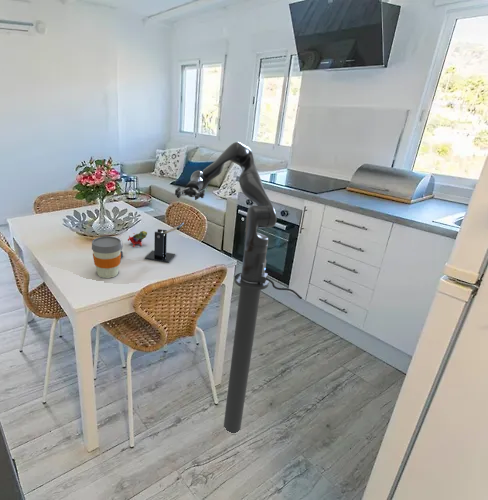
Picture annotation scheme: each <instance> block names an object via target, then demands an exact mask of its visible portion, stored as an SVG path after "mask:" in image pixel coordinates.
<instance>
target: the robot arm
mask: <svg viewBox="0 0 488 500" xmlns="http://www.w3.org/2000/svg"><path fill="white" fill-rule="evenodd" d="M229 161H230V162H231V163H234V164H236V165H237V166H239V167H240V169H241V173H240V175H239V177H238V183H239V187H240V189H241V192H242V193H243V195H244V196H245V197H246V198H248V199H249V200H250V201H252V202H253V203H255V204H256V205H250V206H249V207H248V209H247V213H246V222H245V223H246V224H245V240H244V249H243V257H242V265H241V272H240V273H241V280H242V281H244V282H246V283H249V284H259V285H260V284H261V283H265V282H266V280H268V281H269V283H270V284H271V285H272V287H273V289H274V290H279V291H289V292H291V293H293V294H295V295H296V296H297V297H298V298H299V299H300V300H302V299H303V297H302V296H301V295H300V294H299V293H297V291H295V290H294V289H291V288H288V287H278V286H276V285H275V283H274V281H273V280H272V279H270V278H269V277H268V276H269V273H267V272H266V269H267V268H266V267H267V261H268V260H267V254H268V253H267V252H268V246H269V237H268V236H267V235H265V234H263V233H260V232H258V229H270V228H271V229H272V228H274V227H275V225H276V224H277V219H278V218H277V217H278V216H277V213H276V208H275V207H274V205H273V203H272V201H271V199H270V198H269V196H268V193H267V192H266V190H265V187H264V185H263V181H262V179H261V176H260V174H259V172H258V168H257V166H256V163H255V159H254V154H253V151H252V149H251V148H250V147H249V146H246V145H245V144H243V143H242V142H239V141H235V142H233V143H231V144H230V145H229V146H227V148H226V149H225V150H224V151H222V153H221V154H220V155H219V156H218V157H217V158H216V160H214V161H213V162H212V163H211V164H209V165H208V166H206V167H205V168H204V169H202V171H201V170H195V171H193V172H192V173H191V176H190V180H189V181H188V183H187V184H186V185H185V187H184V188H182V189H181V187H179V186H178V187H177V188H176V189H175V191H174V196H176V197H177V199H180V198H181V197H189V198H194V201H197V200H199V199H200V198H201V199H204V198H205V196H206V195H205V194H206V190H205V189H206V188H207V187H208V185H209V184H210V183H211V181H212V180H214V179H216V178H217V177H218V176H220V175H221V173H223V169H224V166H225V164H226V163H227V162H229Z"/></svg>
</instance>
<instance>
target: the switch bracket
mask: <svg viewBox="0 0 488 500" xmlns="http://www.w3.org/2000/svg"><path fill="white" fill-rule="evenodd" d="M161 231H163V232H165V231H168V229H161V228H158V229H157V231H154V241H153V243H154V247H153V248H154V249H153V250H151V251H150V252H149V253H148V254H147V255H146V256H145V257H144V260H148V261H154V262H160V263H167V264H170V262H171V261H172V260H173V259H174V258H175V256H176V253H172V252H167V243H168V242H167V241H168V237H167V236H168V235H167V234H168V233H167V234H165V236H164V233H162V232H161Z"/></svg>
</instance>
